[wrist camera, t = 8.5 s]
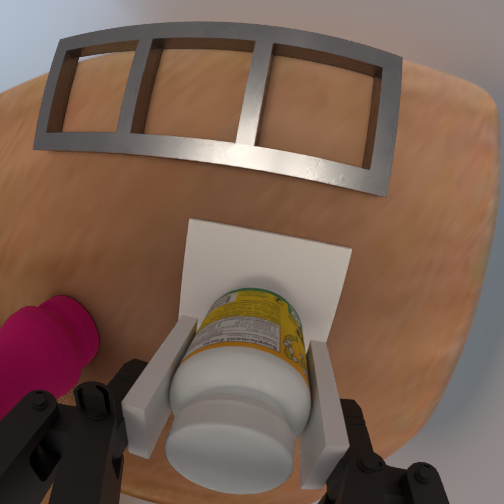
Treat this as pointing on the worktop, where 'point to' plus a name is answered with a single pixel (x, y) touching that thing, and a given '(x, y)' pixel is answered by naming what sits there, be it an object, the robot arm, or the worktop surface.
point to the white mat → (263, 271)
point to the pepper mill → (45, 349)
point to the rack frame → (245, 149)
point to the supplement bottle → (241, 394)
